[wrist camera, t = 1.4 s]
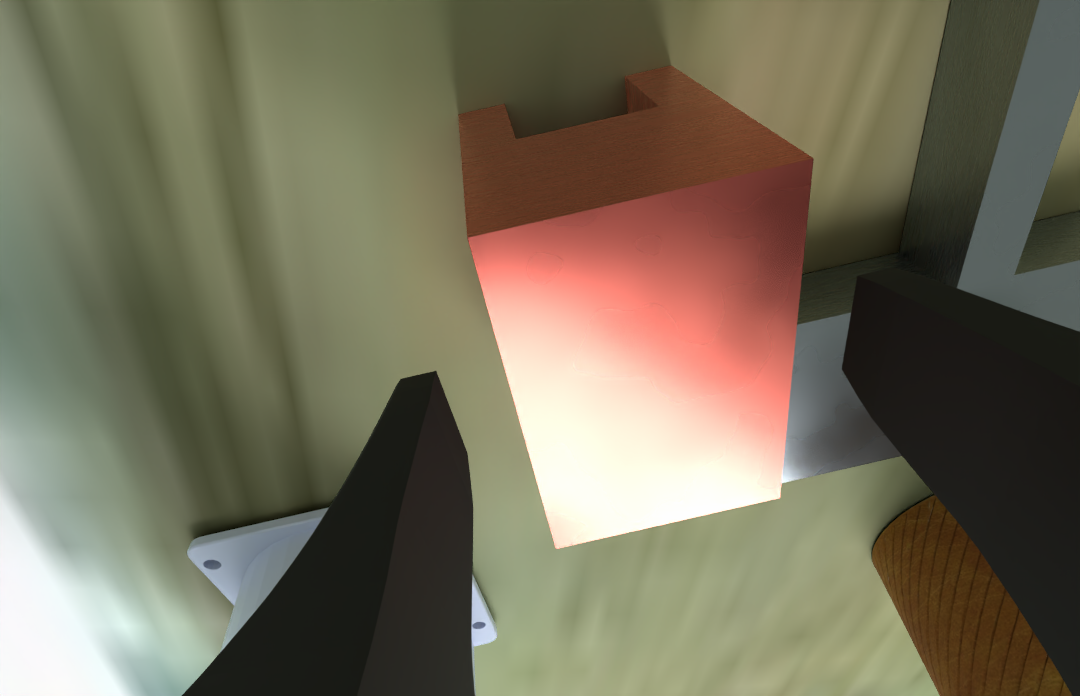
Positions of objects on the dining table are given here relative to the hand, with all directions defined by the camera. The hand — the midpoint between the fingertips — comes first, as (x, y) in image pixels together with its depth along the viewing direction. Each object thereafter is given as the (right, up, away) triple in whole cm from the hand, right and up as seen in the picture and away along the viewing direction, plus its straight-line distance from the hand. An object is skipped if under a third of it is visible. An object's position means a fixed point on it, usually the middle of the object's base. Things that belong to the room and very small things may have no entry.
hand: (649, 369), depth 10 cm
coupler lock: (-1, +3, +4) cm, 5 cm away
